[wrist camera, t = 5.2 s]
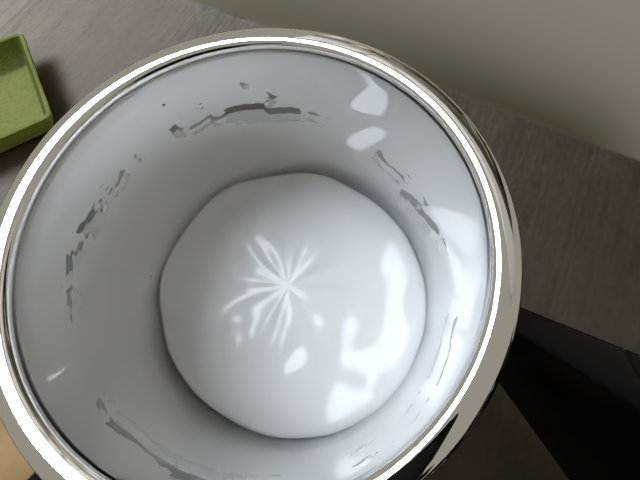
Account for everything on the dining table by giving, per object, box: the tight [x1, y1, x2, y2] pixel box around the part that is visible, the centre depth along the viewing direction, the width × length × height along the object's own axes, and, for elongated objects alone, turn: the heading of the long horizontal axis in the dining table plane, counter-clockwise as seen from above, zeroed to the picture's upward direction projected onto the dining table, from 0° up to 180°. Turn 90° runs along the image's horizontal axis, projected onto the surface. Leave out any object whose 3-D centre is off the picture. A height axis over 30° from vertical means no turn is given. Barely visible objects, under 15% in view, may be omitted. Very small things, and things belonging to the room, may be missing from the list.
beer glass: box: [0, 28, 523, 480], centre depth 11 cm, size 7×7×15 cm
